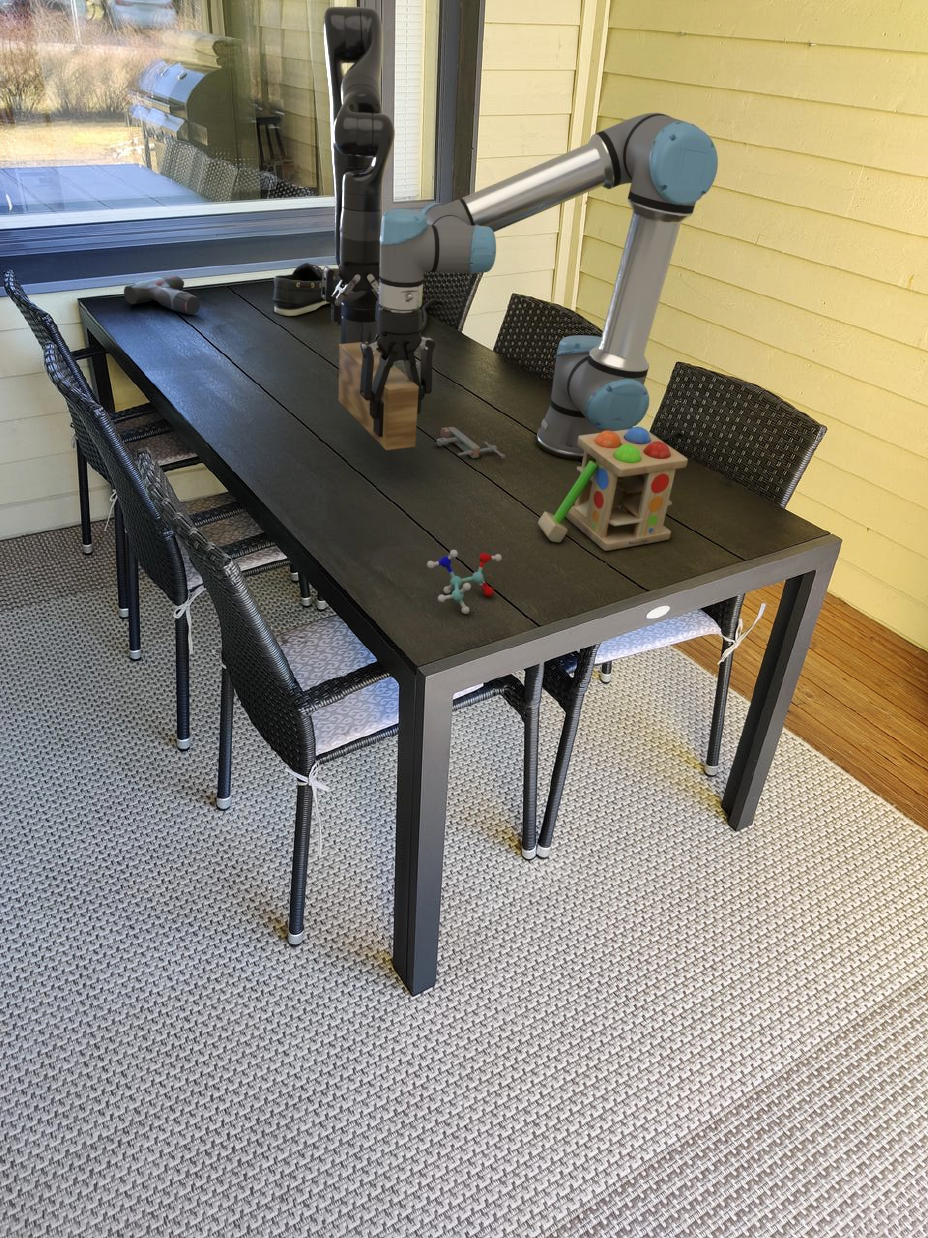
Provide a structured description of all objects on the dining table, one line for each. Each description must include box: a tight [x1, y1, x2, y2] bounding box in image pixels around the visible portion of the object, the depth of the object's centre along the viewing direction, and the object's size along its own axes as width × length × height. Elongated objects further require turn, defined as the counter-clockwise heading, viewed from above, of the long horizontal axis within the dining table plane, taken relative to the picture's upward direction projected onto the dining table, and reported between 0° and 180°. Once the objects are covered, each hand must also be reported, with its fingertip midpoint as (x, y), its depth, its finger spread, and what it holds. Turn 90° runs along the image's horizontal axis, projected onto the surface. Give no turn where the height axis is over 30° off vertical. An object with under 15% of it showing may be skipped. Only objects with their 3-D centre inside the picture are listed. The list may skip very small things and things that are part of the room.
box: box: [338, 342, 419, 451], centre depth 186 cm, size 24×6×12 cm, turn 27°
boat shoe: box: [272, 262, 342, 317], centre depth 274 cm, size 13×33×10 cm, turn 147°
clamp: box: [436, 426, 507, 460], centre depth 201 cm, size 15×2×10 cm
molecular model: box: [426, 549, 503, 615], centre depth 154 cm, size 12×10×10 cm
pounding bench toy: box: [537, 426, 689, 552], centre depth 173 cm, size 23×14×18 cm, turn 116°
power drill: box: [123, 275, 201, 316], centre depth 262 cm, size 5×19×20 cm
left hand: (358, 322), depth 188 cm, fingers open, 8 cm apart
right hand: (394, 431), depth 182 cm, fingers closed on box, 6 cm apart
